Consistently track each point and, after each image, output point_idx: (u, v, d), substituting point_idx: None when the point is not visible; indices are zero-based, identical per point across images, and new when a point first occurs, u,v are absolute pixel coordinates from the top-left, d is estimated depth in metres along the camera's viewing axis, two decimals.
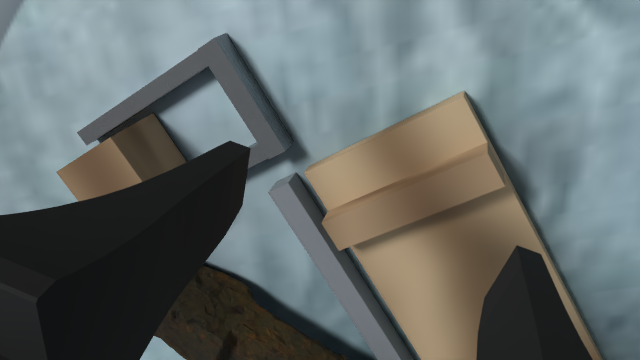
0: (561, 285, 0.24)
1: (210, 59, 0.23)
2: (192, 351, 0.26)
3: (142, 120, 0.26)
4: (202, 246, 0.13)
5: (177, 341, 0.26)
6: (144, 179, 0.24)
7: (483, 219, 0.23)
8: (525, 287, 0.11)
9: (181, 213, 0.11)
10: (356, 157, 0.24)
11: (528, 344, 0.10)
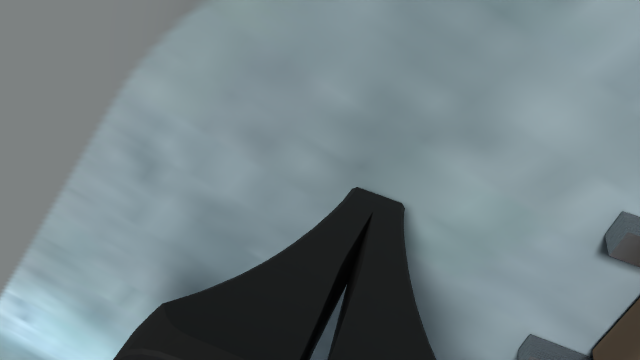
0: None
1: None
2: None
3: None
4: (336, 299, 0.13)
5: None
6: None
7: None
8: (369, 229, 0.12)
9: (339, 274, 0.11)
10: None
11: (357, 278, 0.11)
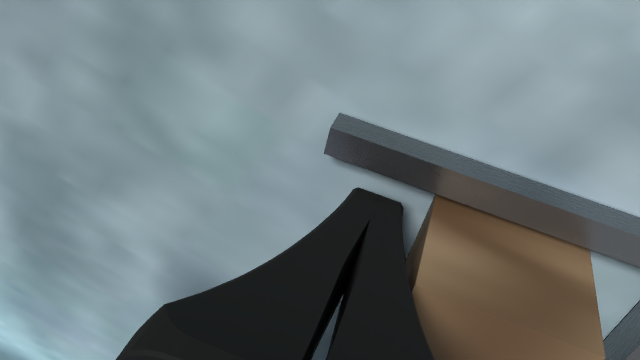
0: None
1: None
2: None
3: (591, 275, 0.13)
4: (337, 300, 0.13)
5: None
6: None
7: None
8: (367, 228, 0.12)
9: (340, 274, 0.11)
10: None
11: (355, 277, 0.11)
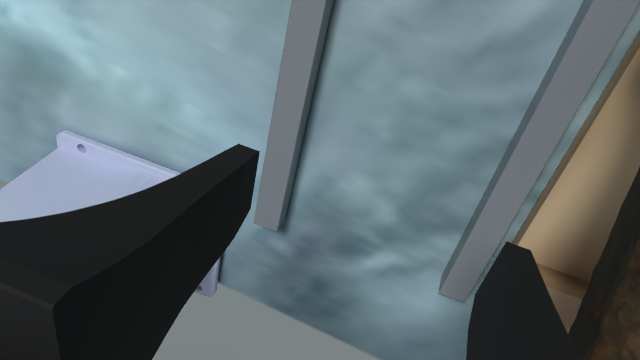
0: None
1: None
2: None
3: None
4: (211, 250, 0.13)
5: None
6: None
7: None
8: (514, 283, 0.11)
9: (192, 217, 0.11)
10: None
11: (515, 339, 0.10)
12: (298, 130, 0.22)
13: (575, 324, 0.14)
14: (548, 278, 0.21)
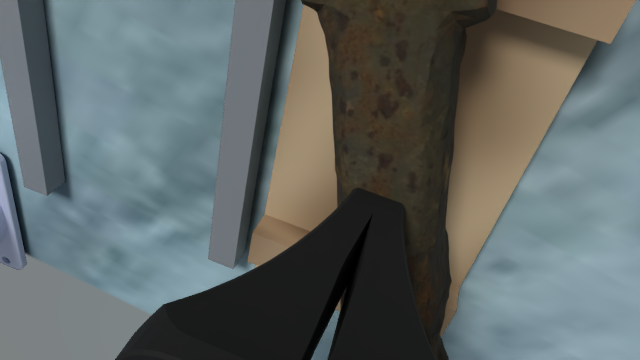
0: (506, 200, 0.17)
1: None
2: None
3: None
4: (336, 299, 0.13)
5: None
6: None
7: (514, 65, 0.15)
8: (369, 229, 0.12)
9: (340, 274, 0.11)
10: None
11: (357, 278, 0.11)
12: (31, 82, 0.20)
13: None
14: (293, 238, 0.20)
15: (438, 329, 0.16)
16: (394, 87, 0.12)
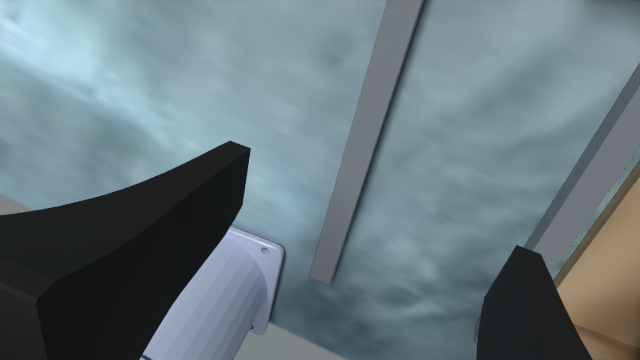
0: None
1: None
2: None
3: None
4: (202, 247, 0.13)
5: None
6: None
7: None
8: (525, 287, 0.11)
9: (181, 213, 0.11)
10: None
11: (528, 344, 0.10)
12: (355, 204, 0.25)
13: None
14: None
15: None
16: None
